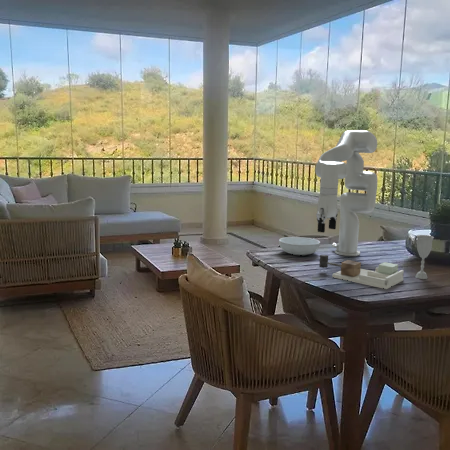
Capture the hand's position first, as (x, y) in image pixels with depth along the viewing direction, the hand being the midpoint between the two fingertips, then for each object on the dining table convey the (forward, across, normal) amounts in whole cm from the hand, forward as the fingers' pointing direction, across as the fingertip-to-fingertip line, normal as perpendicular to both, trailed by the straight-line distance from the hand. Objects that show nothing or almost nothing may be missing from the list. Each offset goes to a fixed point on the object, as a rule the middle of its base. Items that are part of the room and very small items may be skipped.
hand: (326, 230), depth 219 cm
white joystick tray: (+18, -2, +19) cm, 27 cm away
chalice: (+19, -21, +35) cm, 45 cm away
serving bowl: (+19, -21, -27) cm, 39 cm away
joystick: (+17, +2, +7) cm, 18 cm away
